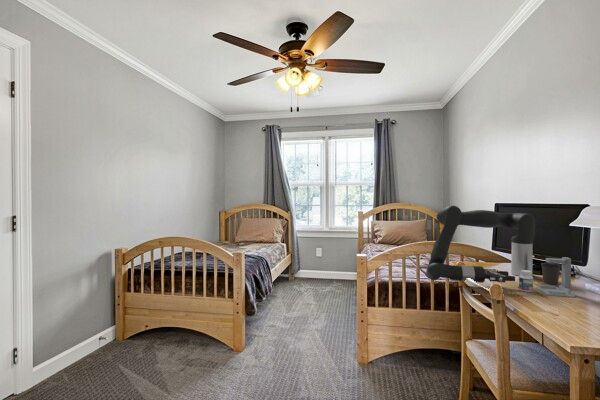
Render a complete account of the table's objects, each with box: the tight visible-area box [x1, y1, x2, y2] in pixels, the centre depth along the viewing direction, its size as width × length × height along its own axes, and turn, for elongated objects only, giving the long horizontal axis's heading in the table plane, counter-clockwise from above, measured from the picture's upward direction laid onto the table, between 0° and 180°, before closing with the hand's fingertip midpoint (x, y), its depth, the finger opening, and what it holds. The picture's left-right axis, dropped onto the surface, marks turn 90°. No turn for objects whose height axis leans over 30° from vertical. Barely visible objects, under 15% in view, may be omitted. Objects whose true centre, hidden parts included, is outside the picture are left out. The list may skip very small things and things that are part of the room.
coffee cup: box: [539, 261, 562, 286], centre depth 149 cm, size 8×8×10 cm
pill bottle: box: [518, 270, 534, 293], centre depth 138 cm, size 5×5×9 cm
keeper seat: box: [536, 256, 576, 298], centre depth 135 cm, size 10×10×16 cm
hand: (511, 276), depth 140 cm, fingers open, 8 cm apart
